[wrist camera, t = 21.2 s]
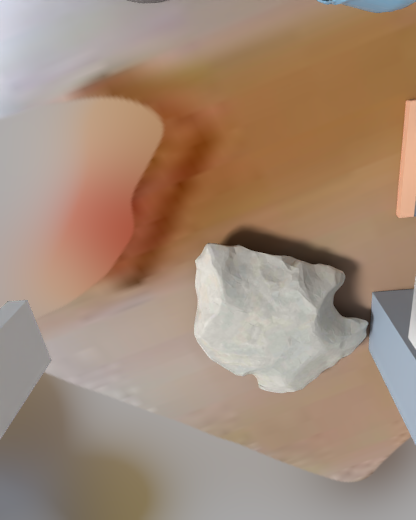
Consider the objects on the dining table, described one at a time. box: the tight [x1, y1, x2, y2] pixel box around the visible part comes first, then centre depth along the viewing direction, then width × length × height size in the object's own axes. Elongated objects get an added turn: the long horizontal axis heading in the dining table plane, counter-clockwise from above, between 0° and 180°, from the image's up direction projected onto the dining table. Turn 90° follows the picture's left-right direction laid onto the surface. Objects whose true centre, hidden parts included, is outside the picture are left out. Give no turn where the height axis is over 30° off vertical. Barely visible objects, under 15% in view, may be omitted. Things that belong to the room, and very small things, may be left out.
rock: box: [194, 243, 369, 393], centre depth 46 cm, size 19×7×25 cm
